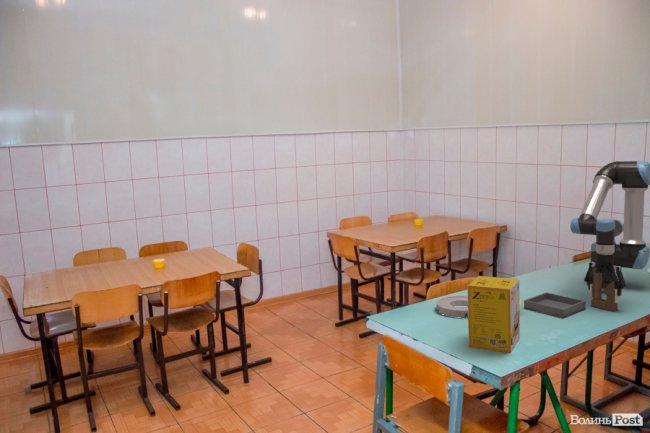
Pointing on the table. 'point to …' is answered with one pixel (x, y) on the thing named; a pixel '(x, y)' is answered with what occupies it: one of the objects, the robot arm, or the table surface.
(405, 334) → the table surface
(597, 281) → the brown round-handled part
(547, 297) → the tray
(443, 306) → the ashtray
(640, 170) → the robot arm
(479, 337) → the packaging box
